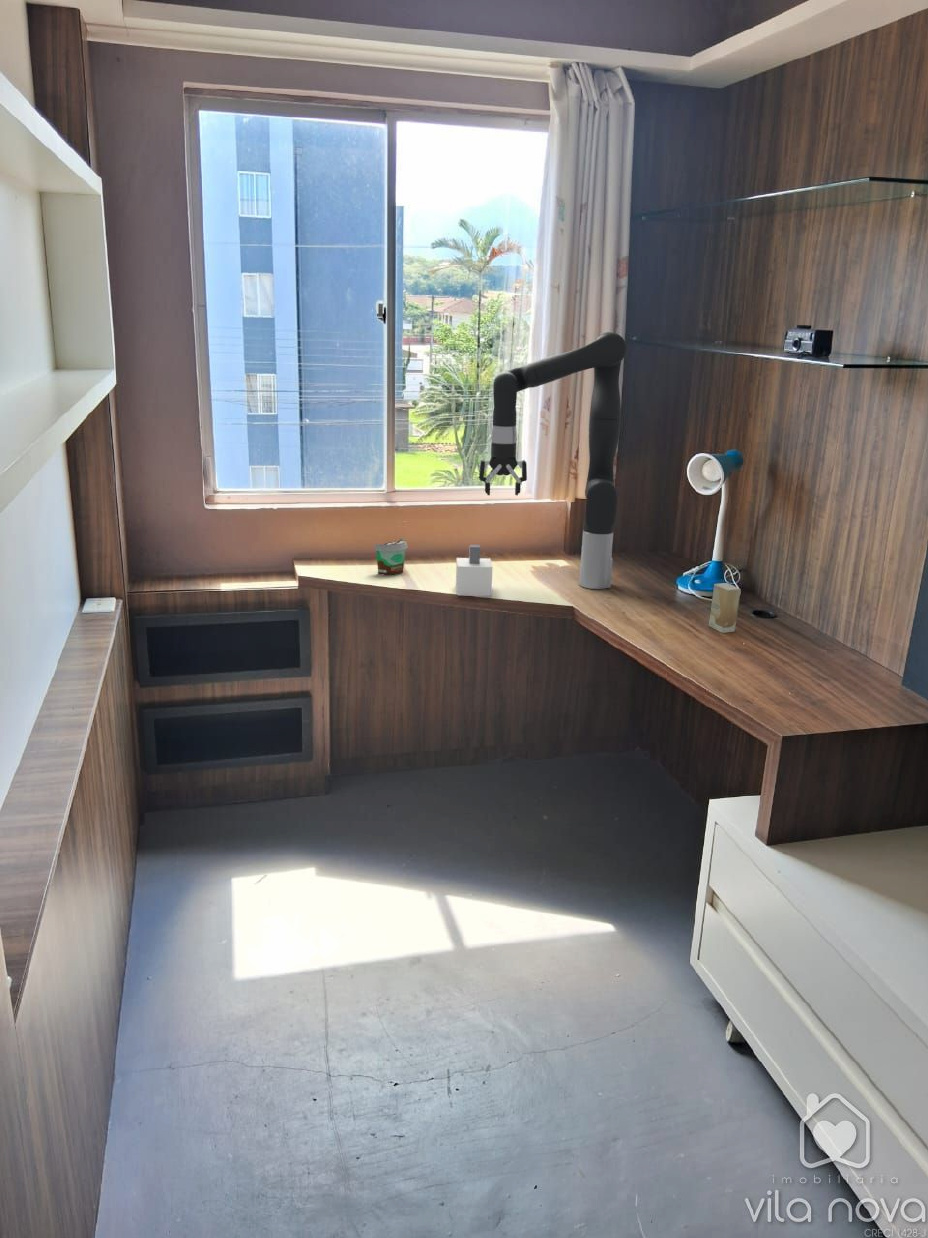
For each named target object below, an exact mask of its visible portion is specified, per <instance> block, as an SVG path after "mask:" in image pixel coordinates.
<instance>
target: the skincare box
mask: <svg viewBox="0 0 928 1238" xmlns="http://www.w3.org/2000/svg"><path fill="white" fill-rule="evenodd" d="M713 585H714V586H713V592H712V598H711V606H710V614H709V620H708V627H710V628H712V629H714V630H716V631H717V632H719V633H721V634H725V633H734V632H735V630H736V624H737V617H738V611H739V610H738V609H739V605H740V599H741V598H740V596H741V590H742V589H741V588H739V587H737V586H735V585H732V584H730V583H727V582H723V583H722V582H721V583H720V582H719V583H714V584H713Z"/></svg>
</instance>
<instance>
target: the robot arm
mask: <svg viewBox="0 0 928 1238" xmlns="http://www.w3.org/2000/svg"><path fill="white" fill-rule="evenodd" d="M627 345H628V344H627V343H626V340H625V339H624V337H622V336H621V335H620V334H618V333H616V332H612V331H611V332H610V331H608V332H604V333H602V334H600V335H598V336H597V338H595V340H594V341H592V342H590V343H588V344H586V345H584V346H581V347H580V348H577V349H574V350H570V351H566V352H562V353H558V354H554V355H550V356H547V357H543V358H540V359H538V360H535V361H532V362H530V363H529V362H528V363H527V364H524V365H523V366H519V367H515V368H511V369H508V370H504V371H501V372H500V373H497V375H496V376H495V377H494V379H493V385H492V386H493V411H492V427H491V439H490V440H491V442H490V443H491V446H490V460H484V459H482V460H480V463H479V475H478V479H479V481H481V482H483V483H484V492H485V494H486V496H490V495H491V483H490V482H491V481H492V480H493V478H494V477H495V476H496V475H497V476H502V475H503V476H510V475H511V476H512V477H513V479H514V480H515V481H516V482H515V485H514V487H515V488H514V495H515V496H518V495H519V494H521V485H522V483H523V482H526V481H527V480H528V475H527V474H528V473H527V461H526V460H525V459H523V460H519V461H518V460H517V441H518V437H517V436H518V435H517V400H518V399H517V398H518V392H521V391H524V390H526V389H529V388H537V387H540V386H543V385H546V384H550V383H552V382H554V381H557V380H560V379H563V378H565V377H568V376H571V375H573V374H577V373H579V372H581V371H586V370H589V369H593V374H594V375H593V387H592V393H591V399H590V400H591V401H590V407H589V409H590V410H589V420H588V421H589V423H588V449H589V450H588V451H589V454H588V455H589V463H588V470H587V472H588V473H587V478H586V484H585V489H584V496H585V500H586V501H585V510H584V511H585V513H584V515H585V516H584V519H583V520H584V521H583V525H582V526H583V527H582V541H581V552H580V553H581V554H580V567H579V568H580V570H579V579H578V580H579V583H578V584H579V586H580V587H582V588H584V589H591V590H604V589H611V585H612V584H611V583H612V573H613V562H614V561H613V560H614V559H613V557H612V554H613V553H612V552H613V542H614V541H613V540H614V531H615V530H614V528H615V524H616V519H617V508H618V491H617V488H616V486H615V481H614V480H615V479H614V465H615V463H614V462H615V456H616V452H617V449H618V444H619V440H620V435H621V421H622V406H621V405H622V403H621V395H620V394H621V391H620V374H621V373H620V372H621V366H622V361H623V359H624V358H625V356H626V354H627V351H628V350H627V348H628V346H627ZM488 466H490V468H491V470H490V471H489V473H488V475H487V476H486V477H485V469H487V467H488ZM517 467H519V468H520V469H521V476H520V477H519V476H518V475H517V473H516V472H515V471H514V470H515V469H516V468H517Z"/></svg>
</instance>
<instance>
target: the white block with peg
mask: <svg viewBox="0 0 928 1238" xmlns="http://www.w3.org/2000/svg"><path fill="white" fill-rule="evenodd" d="M468 548H469V550H468V551H469V552H468V557H456V567H455V569H456V570H455V571H456V572H455V590H456V592H457V593H456V596H465V597H466V596H473V597H474V596H475V597H476V596H477V597H479V596H480V597H492V591H493V590H492V587H493V586H492V584H493V564H492V560H491V558H482V557H481V545H480V544H469V547H468Z"/></svg>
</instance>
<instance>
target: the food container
mask: <svg viewBox="0 0 928 1238" xmlns="http://www.w3.org/2000/svg"><path fill="white" fill-rule="evenodd" d="M407 549H408V544H407V541H406V539H405V538H402V537H399V540H398V541H389V542H386V543H383V544H380V543H376V544H375V547H374V551H376V564H377V574H378V575H381V574H384V575H383V576H396V574H398V575H402V574H403V573H404V566H405V556H406V550H407Z"/></svg>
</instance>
